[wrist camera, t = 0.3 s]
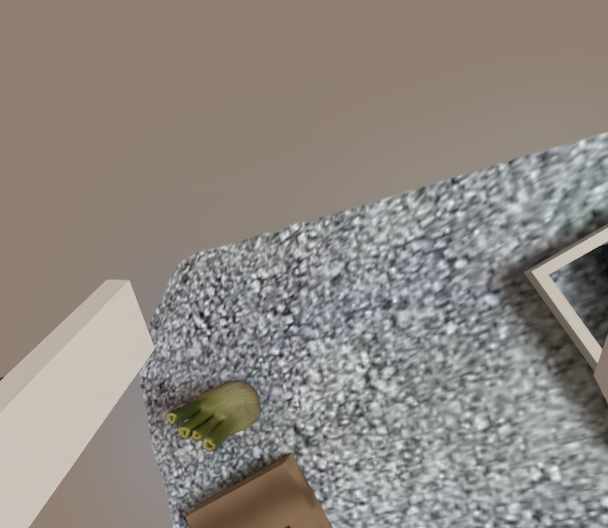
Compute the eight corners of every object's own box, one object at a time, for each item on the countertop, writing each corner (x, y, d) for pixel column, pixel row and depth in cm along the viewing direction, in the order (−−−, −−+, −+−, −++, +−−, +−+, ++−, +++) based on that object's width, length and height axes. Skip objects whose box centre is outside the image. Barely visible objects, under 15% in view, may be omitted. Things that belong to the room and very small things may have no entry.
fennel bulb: (216, 388, 51) (155, 419, 40) (246, 366, 50) (193, 391, 39) (242, 430, 50) (186, 474, 39) (273, 408, 49) (226, 447, 38)
